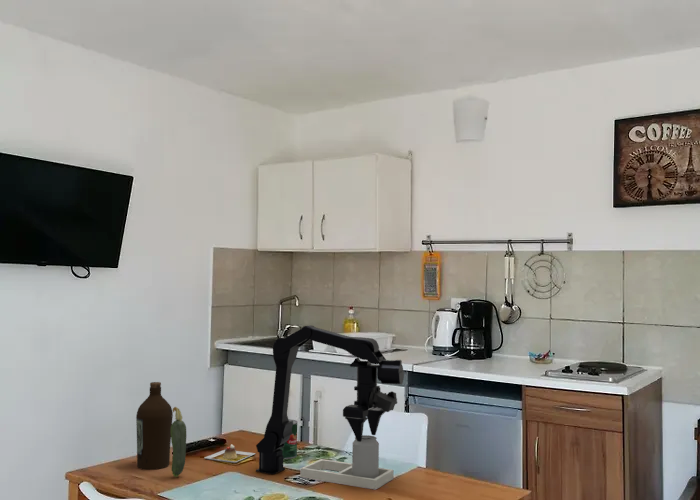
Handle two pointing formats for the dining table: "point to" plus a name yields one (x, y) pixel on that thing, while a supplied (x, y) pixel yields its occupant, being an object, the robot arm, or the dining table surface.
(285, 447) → the canned tomato
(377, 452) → the can
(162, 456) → the olive oil
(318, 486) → the dining table surface
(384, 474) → the organizer
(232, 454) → the dessert
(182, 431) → the vegetable
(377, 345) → the robot arm
